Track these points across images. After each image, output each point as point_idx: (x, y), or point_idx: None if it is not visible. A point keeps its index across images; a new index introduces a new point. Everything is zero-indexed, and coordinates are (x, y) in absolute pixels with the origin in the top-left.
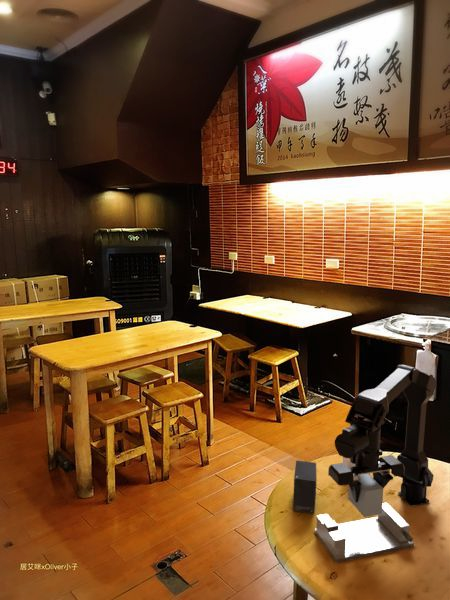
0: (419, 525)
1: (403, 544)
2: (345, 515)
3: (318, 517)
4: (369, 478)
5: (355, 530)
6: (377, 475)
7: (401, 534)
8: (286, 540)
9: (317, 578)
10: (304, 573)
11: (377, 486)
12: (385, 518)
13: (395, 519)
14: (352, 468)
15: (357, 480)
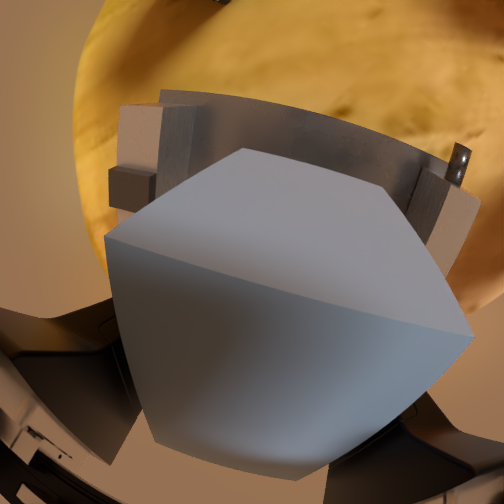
0: (488, 252)
1: None
2: (340, 59)
3: (119, 119)
4: (332, 433)
5: None
6: (367, 498)
7: None
8: (88, 102)
9: (104, 243)
10: (87, 219)
11: (278, 471)
12: (416, 225)
13: None
14: (7, 492)
15: (83, 459)
